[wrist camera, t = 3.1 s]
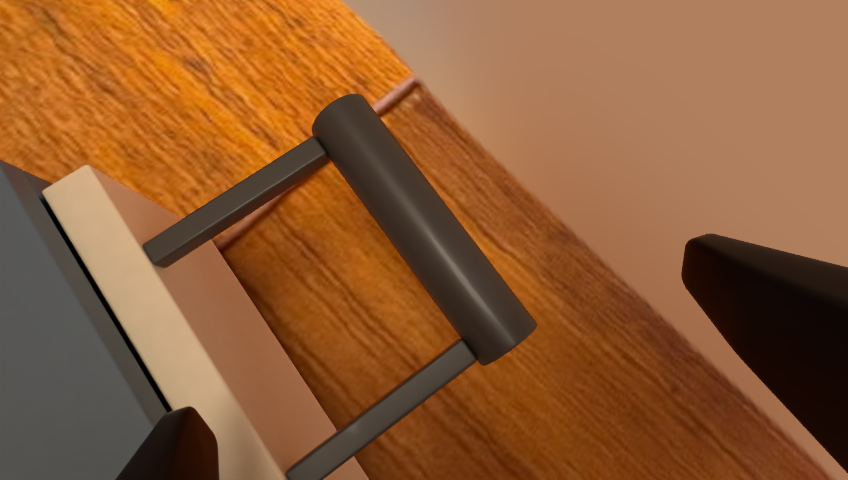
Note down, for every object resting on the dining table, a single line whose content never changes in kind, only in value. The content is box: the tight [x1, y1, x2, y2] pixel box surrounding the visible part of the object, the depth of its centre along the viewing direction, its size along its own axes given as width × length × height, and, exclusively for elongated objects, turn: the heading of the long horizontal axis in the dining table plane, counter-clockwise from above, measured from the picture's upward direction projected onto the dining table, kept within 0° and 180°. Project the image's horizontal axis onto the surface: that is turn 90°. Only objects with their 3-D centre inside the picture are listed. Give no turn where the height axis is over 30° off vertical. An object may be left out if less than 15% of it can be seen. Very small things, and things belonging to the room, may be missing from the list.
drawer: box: [42, 94, 537, 480], centre depth 13 cm, size 19×11×7 cm, turn 126°
